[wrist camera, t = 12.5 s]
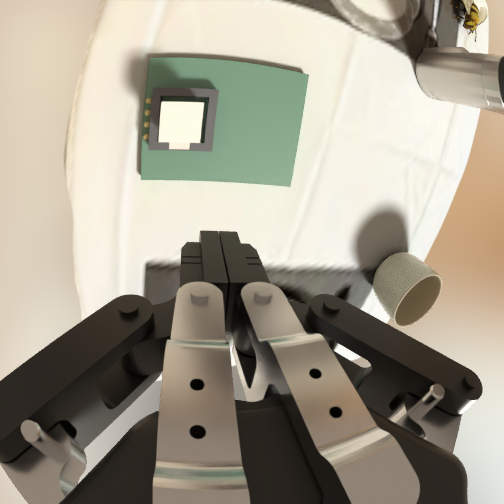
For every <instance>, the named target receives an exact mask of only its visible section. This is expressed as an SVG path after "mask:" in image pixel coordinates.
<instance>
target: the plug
mask: <svg viewBox="0 0 504 504" xmlns="http://www.w3.org/2000/svg"><path fill="white" fill-rule="evenodd" d="M203 109H204V103H202V102H161V113H160V125H159V142H169V149H187V150H189V147H190V143H200V138H201V128H202V118H203Z"/></svg>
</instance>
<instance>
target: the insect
mask: <svg viewBox="0 0 504 504" xmlns="http://www.w3.org/2000/svg"><path fill="white" fill-rule="evenodd" d="M458 1H459V2H460V3H462V4H463V6H464V9H463V10H462V9H460V8H459V7H457V6H455V5H453V4H451V5H452V6H454V7H456V8H457V9H459V10H461V11H464V15H465V21H464V24H463V27H464V28H466V29H470V31H471V32H472V33H473V31H474V30H475V33H476V25H477V26H478V25H479V24H481V23H482V22H484V20H485V19H486V17H487V10H486V8H485V7H483V8H482V7H481V8H480V12H479V10H478V8H477V6H476V4H475V3H474V2H473V0H462V1H463V2H462V1H461V0H458ZM465 11H466V12H467V13H466V12H465ZM465 13H466V14H465ZM478 15H479V16H478ZM456 18H462V19H464V18H463V17H462V16H458V17H455V18H454V19H456ZM464 25H465V26H464ZM472 30H473V31H472ZM471 32H469V34H470V33H471ZM475 42H476V38H475Z"/></svg>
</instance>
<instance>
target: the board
mask: <svg viewBox="0 0 504 504" xmlns="http://www.w3.org/2000/svg"><path fill="white" fill-rule="evenodd" d="M308 77H309V75H308V74H304V73H300V72H295V71H291V70H286V69H281V68H276V67H270V66H265V65H259V64H252V63H245V62H237V61H228V60H218V59H204V58H179V57H161V58H150V61H149V68H148V75H147V84H146V93H145V103H144V115H143V130H142V152H141V180H192V181H218V182H236V183H252V184H265V185H277V186H288V187H290V186H291V180H292V174H293V169H294V163H295V157H296V152H297V146H298V140H299V134H300V128H301V122H302V115H303V109H304V103H305V96H306V90H307V83H308ZM161 102H202V103H204V109H203V118H202V128H201V138H200V143H190V147H189V150H187V149H169V142H159V125H160V113H161Z"/></svg>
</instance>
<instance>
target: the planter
mask: <svg viewBox="0 0 504 504" xmlns="http://www.w3.org/2000/svg"><path fill="white" fill-rule="evenodd" d="M442 284H443V283H442V278H441V276H440V275H439V274H438V273H436V272H435V271H434V270H433V269H432V268H431V267H429V266H428V265H427V264H425V263H424V262H422V261H421V260H420V259H418V258H417V257H415V256H413V255H412V254H410V253H406V252H399V253H395V254H393V255H391V256H389V257H388V258H386V259H385V260H384V261H383V262H382V263H381V264H380V266H379V267H378V269H377V271H376V273H375V276H374V280H373V288H374V292H375V294H376V296H377V298H378V300H379V302H380V303H381V305H382V306H383V308H384V309H385V311H386V312H387V314H388V315H389V317H390V318H391V319H392V321H393V322H394V324H395V325H396V326H398V327H406V326H409V325H412V324H414V323H415V322H417V321H419V320H420V319H421V318H422V317H424V316H425V315H426V314H427V313H428V312H429V311H430V309H431V308H432V307H433V306H434V304H435V303H436V301H437V299H438V298H439V295H440V293H441V289H442Z"/></svg>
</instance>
